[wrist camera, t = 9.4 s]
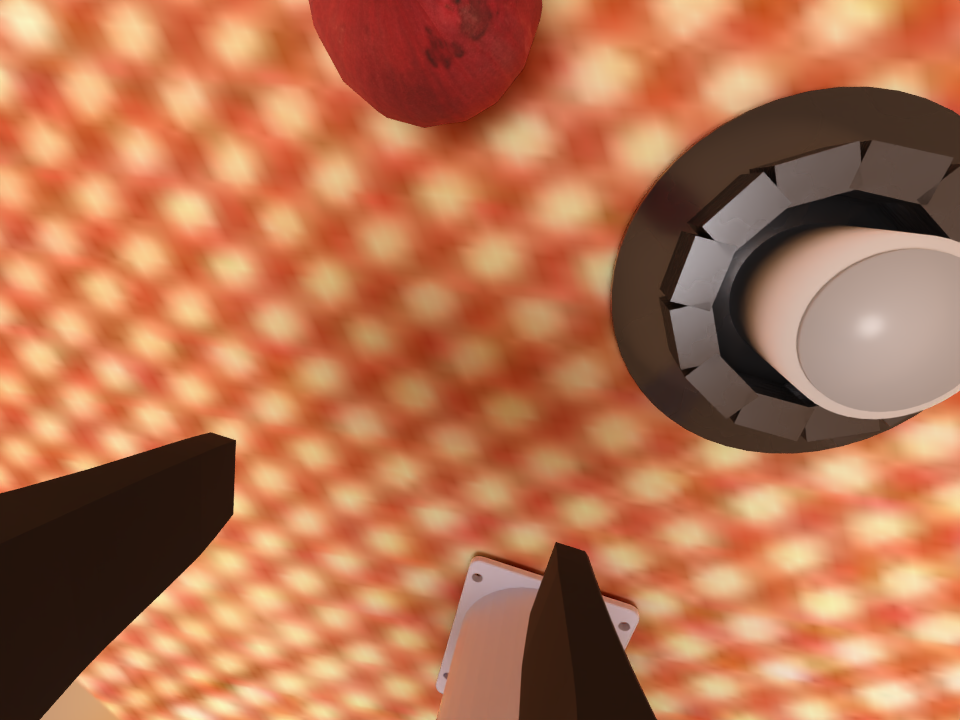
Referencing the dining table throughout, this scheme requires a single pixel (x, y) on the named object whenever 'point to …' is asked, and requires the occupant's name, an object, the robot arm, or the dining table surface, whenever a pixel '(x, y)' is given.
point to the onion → (428, 53)
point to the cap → (855, 316)
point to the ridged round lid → (751, 221)
